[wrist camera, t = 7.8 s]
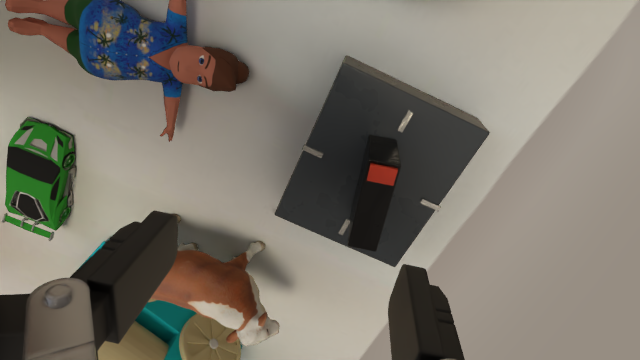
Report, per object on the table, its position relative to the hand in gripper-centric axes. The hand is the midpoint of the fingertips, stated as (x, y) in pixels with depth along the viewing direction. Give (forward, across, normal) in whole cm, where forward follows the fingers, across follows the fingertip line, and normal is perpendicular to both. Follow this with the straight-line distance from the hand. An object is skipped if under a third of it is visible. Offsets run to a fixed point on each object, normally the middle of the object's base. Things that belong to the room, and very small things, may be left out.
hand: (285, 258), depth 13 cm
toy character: (+16, +13, -3) cm, 21 cm away
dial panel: (+15, -4, +2) cm, 16 cm away
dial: (+12, -4, +2) cm, 13 cm away
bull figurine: (+16, +6, +13) cm, 22 cm away
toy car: (+16, +22, +10) cm, 29 cm away
